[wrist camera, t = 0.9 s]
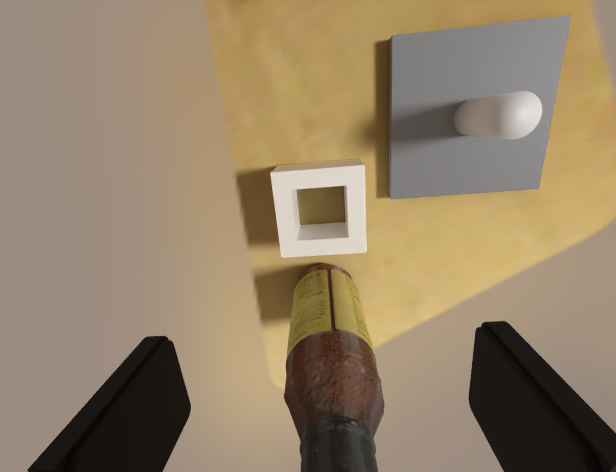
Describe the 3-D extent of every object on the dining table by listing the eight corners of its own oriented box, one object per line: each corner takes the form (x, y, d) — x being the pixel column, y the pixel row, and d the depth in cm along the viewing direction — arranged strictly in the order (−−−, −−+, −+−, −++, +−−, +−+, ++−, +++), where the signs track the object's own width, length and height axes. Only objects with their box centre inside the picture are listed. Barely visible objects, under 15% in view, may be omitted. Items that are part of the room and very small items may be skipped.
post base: (389, 39, 22) (416, 4, 16) (560, 19, 21) (665, -27, 15) (388, 196, 26) (409, 221, 20) (531, 186, 25) (602, 208, 19)
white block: (278, 165, 26) (270, 172, 22) (358, 158, 25) (364, 164, 22) (287, 239, 28) (281, 257, 25) (361, 235, 28) (366, 252, 24)
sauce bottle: (293, 310, 31) (247, 585, 13) (297, 256, 29) (249, 495, 10) (355, 317, 31) (400, 604, 13) (364, 263, 29) (436, 517, 10)
